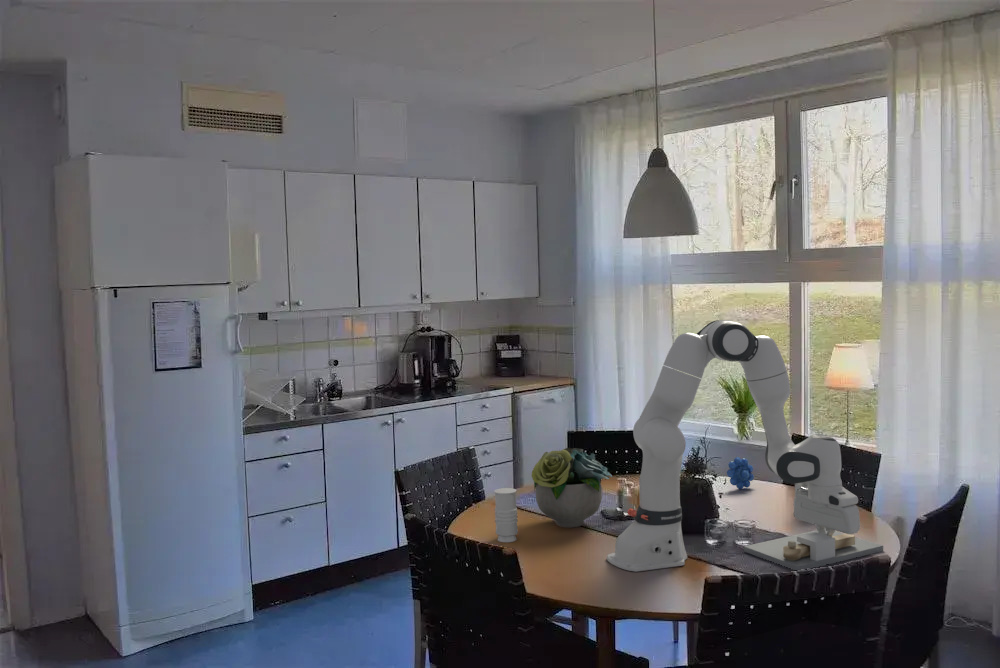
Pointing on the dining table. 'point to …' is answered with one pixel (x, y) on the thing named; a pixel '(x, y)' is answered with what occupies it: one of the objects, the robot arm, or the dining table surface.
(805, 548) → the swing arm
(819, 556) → the base
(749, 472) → the grapes
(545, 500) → the flower arrangement
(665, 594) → the dining table surface
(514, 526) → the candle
